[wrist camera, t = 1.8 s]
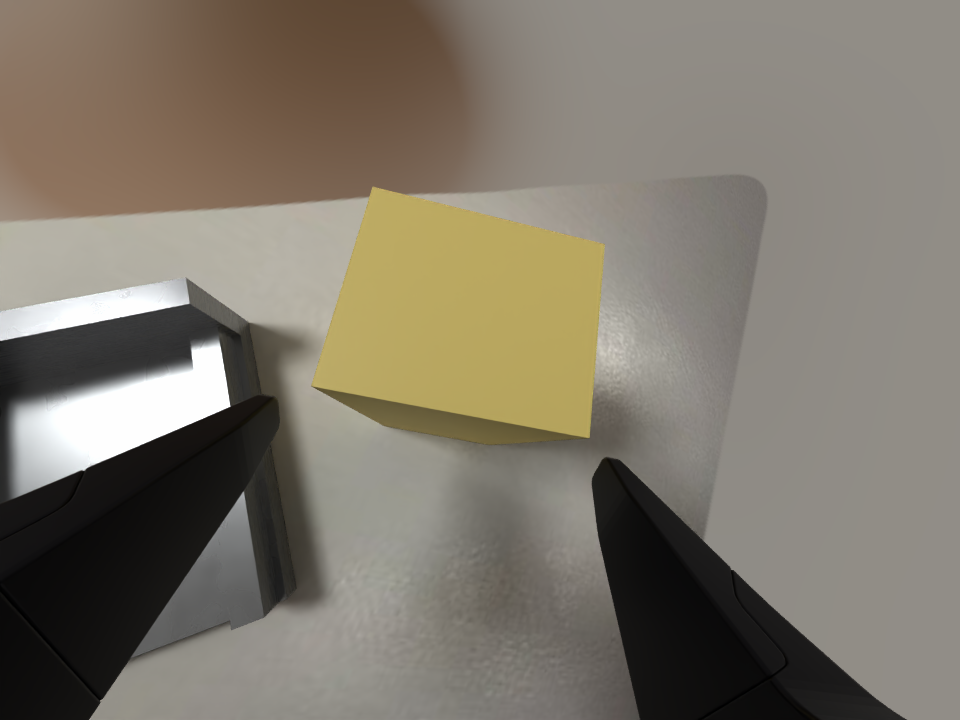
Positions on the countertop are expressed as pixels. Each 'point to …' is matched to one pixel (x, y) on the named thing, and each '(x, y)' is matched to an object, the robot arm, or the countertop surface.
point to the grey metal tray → (143, 425)
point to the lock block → (465, 325)
